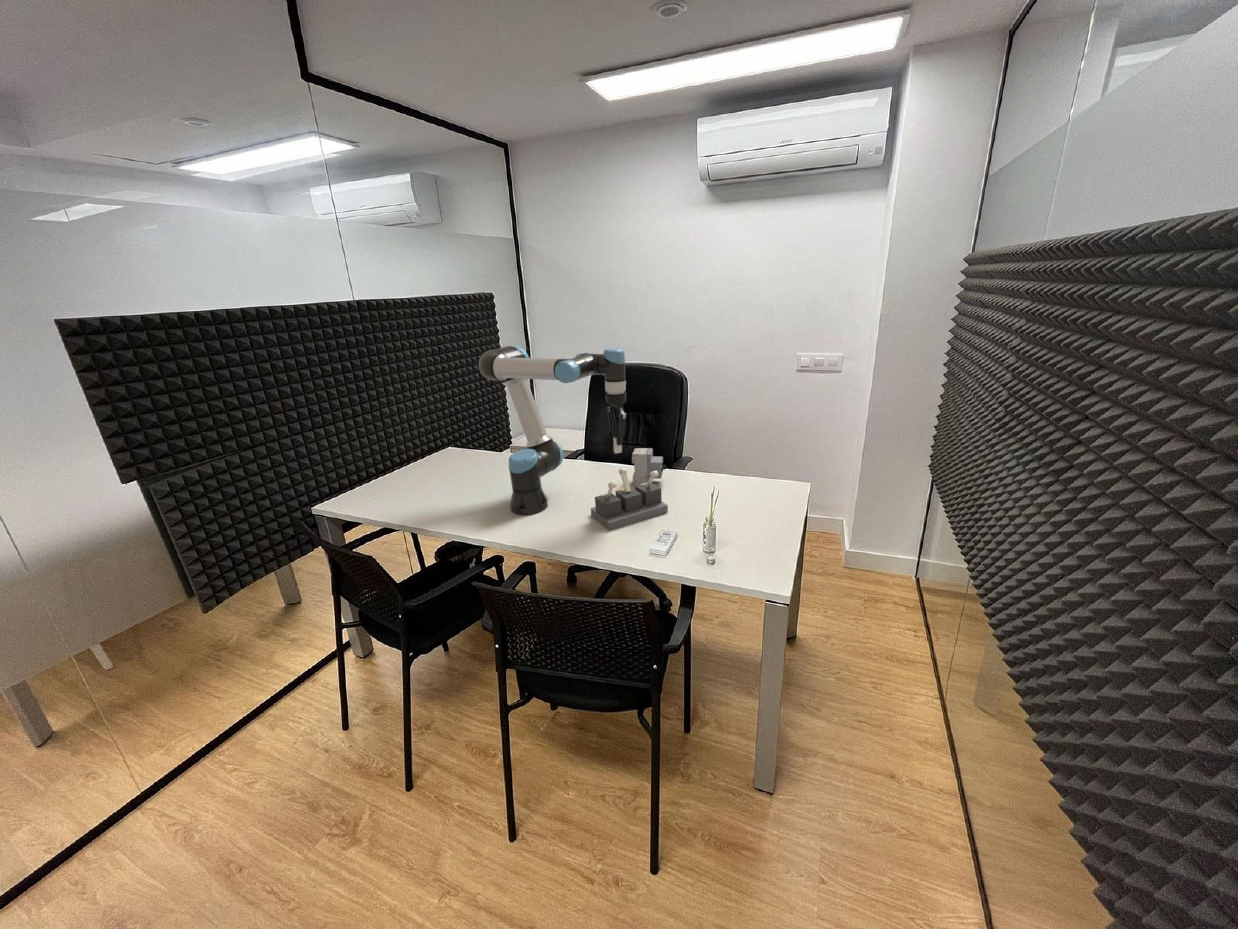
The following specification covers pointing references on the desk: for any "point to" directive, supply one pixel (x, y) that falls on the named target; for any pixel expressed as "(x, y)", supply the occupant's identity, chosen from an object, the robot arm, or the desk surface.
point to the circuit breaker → (646, 465)
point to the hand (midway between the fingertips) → (618, 452)
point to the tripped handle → (625, 479)
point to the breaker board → (630, 515)
